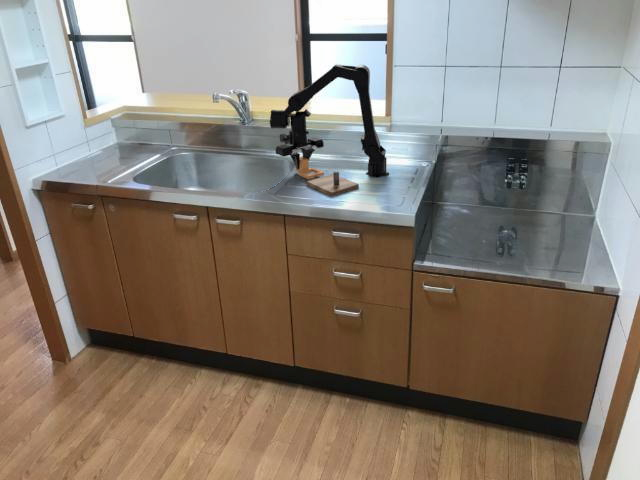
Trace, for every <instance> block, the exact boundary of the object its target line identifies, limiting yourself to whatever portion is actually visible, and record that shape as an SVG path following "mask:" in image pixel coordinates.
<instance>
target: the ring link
mask: <svg viewBox="0 0 640 480" xmlns="http://www.w3.org/2000/svg"><path fill="white" fill-rule="evenodd" d="M309 162H310V161H308V159H306V158H304V157H303V156H300V164H299V169H296V166H295V165H294V170H295V171H296V172H297V175H298V176H300V177H303V178H305V179H307V180H312V179H316V177H317V178H320V177H323V176H324V175H325V172H324V171H323V170H319V169H318V168H315V167H310V166H309V165H310V164H309ZM309 173H310V174H309ZM311 173H312V174H311Z"/></svg>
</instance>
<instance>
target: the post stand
mask: <svg viewBox="0 0 640 480" xmlns="http://www.w3.org/2000/svg"><path fill="white" fill-rule="evenodd" d="M306 185H307V187H310V188H313V189H315V190H317V191H319V192H321V193H324V194H326V195H327V196H330V197H334V196H337V195H341V194H344V193H347V192H350V191H354V190H357V189H359V188H360V187H359V186H360V185H359V183H357V182H355V181H352V180H349V179H347V178H344V177H342V176H340V171H333V173H332V174H331V173H330V174H327V175H325V176H324V175H323V176H319V177H317V178H312V179H309V180H306Z"/></svg>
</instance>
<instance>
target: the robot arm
mask: <svg viewBox="0 0 640 480" xmlns="http://www.w3.org/2000/svg"><path fill="white" fill-rule="evenodd" d="M338 78H340V79H344V80H348V81H353V84H354V86H355V89H356V92H357V94H358V98H359V106H360V111H361V117H362V125H363V131H364V132H363V133H364V135H361V137H360V143H361V145H362V148H361V151H363V152H364V155H366V156H368V164H367V172H365V174H366V175H368V176H370V177H373V178H376V179H377V178H382V177H385V176H387V175H390V172H388V171H387V159H388V158H387V156H386V152H387V150H386V148H384V146H382V145H381V142H380V139H379V136H378V134H377V130H376V129H375V122H374V121H375V120H374V116H373V108H372V107H373V106H372V101H371V97H370V96H371V95H370V85H371V83H370V81H371V71H370V68H369V67H368V66H367V65H365V64H360V65H359V64H358V65H357V66H353V65H347V64H346V65H345V64H339V63H335V64H334V65H333V66H332V68H331V69H329V70H328V71H326V72H325V73H324V74H322V75H321V76H320V77H319V78H318V79H316V80H315V81H313V82H312V83H311V84H310V85H309V86H307V87H305V88H303V89H300V90H298V91H296V92H295V93H293V95H291V96H290V97H289V99H287V104H288V105H287V106H286V108H284V109H280V110H279V109H271V110H270V120H269V125H270V129H277V130H280V129H282V130H283V129H288V127H289V126H290V130H288V131H289V132H288V133H289V134H286V133H285V132H284V133H281V134H279V142H280V143H282V144H281V145H277V146H276V147H275V154H276V155H279V156H280V157H281V156H282V157H288V156H290V158H291V160H292V161H293V163H294V167H295V166H296V169H299V164H300V157H301V155H300V153H299V152H298V151H299V150H300V151H301V152H302V157H304V158H306V159H308V162H310V159H311V157H312V155H313V153H314V152H315V151H316V149H314V147H316V148H317V149H320V148H321V149H322V148H324V146H325V142H324V140H323V139H322V138H319V137H311V138H308V135H309V133H310V132H309V130H307V118H310V117H311V115H312V113H311V111H308V109H307V108H305V109H304V110H302V109H303V108H304V107H305V106H306V105H307V103H309V101H311V99H312V98H313V97H314V96H316V95H317V94H318V93H319V92H321V91H322V90H323V89H325V87H327V86H328V85H330V84H331V83H332V82H333V81H336V79H338ZM294 112H295V113H294ZM283 143H284V144H283Z"/></svg>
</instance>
